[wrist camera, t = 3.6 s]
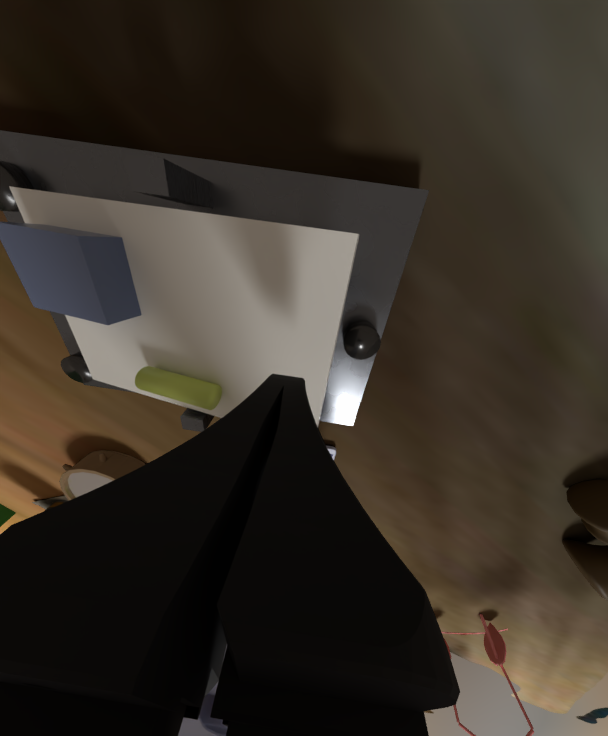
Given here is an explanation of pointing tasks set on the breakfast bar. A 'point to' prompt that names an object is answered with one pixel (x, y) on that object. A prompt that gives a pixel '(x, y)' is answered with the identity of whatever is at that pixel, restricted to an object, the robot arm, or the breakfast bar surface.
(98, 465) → the alarm clock
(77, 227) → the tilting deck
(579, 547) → the kendama
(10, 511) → the hardback book
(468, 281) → the breakfast bar surface
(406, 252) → the base
